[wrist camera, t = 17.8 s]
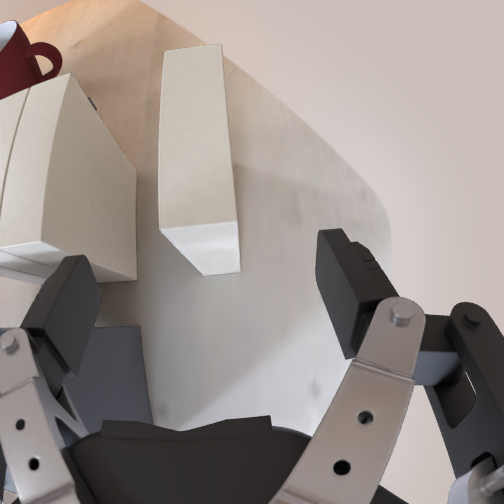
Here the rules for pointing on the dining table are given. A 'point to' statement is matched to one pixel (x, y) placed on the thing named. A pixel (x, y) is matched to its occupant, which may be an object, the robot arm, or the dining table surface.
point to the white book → (197, 161)
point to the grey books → (108, 381)
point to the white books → (63, 186)
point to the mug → (23, 60)
